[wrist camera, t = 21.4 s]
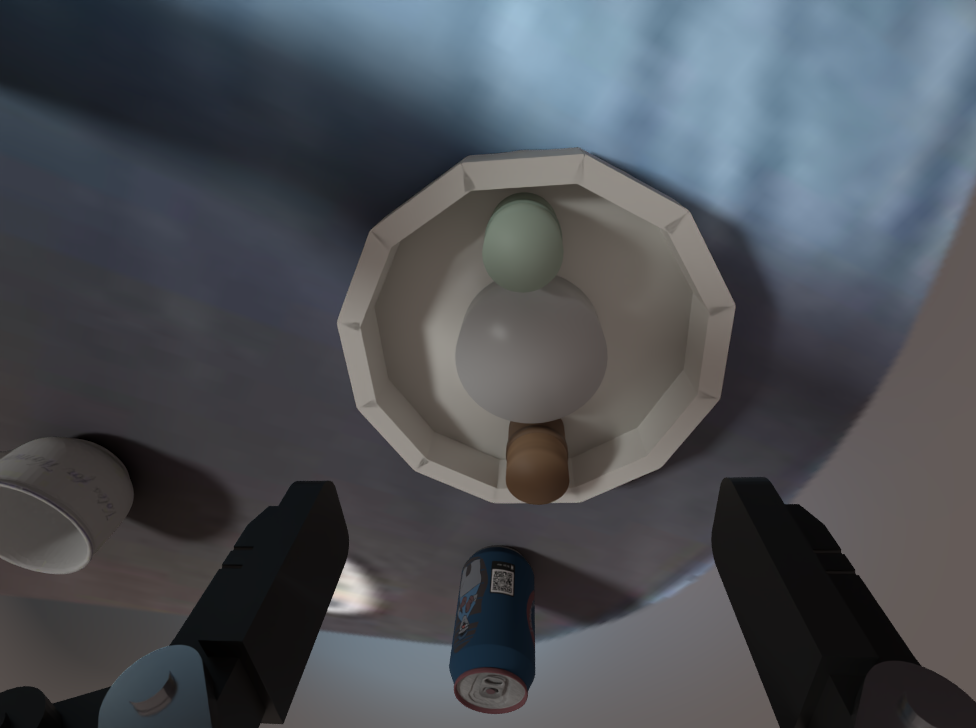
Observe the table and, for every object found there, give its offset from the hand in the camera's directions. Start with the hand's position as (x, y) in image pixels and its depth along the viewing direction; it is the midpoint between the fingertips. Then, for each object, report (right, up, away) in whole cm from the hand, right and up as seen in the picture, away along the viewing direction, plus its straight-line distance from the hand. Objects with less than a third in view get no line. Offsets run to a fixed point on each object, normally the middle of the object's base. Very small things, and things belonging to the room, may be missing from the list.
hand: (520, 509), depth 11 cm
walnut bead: (+3, -2, +30) cm, 30 cm away
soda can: (0, -17, +39) cm, 42 cm away
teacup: (-39, -6, +36) cm, 53 cm away
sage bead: (+2, +12, +22) cm, 25 cm away
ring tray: (+2, +5, +27) cm, 27 cm away
